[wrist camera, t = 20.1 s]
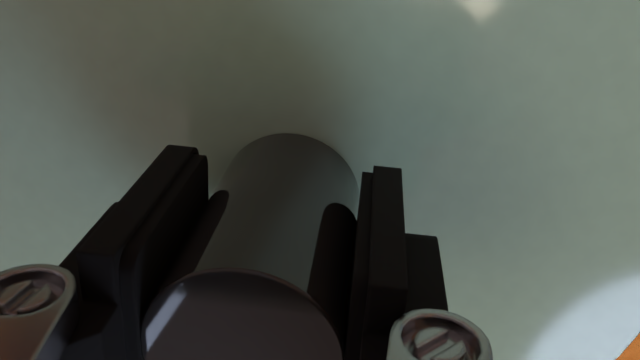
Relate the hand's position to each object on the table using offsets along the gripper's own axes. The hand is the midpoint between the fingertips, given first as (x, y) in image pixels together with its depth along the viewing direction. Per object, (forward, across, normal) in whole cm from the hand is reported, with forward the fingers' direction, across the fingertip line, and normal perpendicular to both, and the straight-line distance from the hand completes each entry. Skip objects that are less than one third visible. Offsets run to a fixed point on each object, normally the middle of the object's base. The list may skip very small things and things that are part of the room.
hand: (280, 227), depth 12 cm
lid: (+2, 0, 0) cm, 2 cm away
